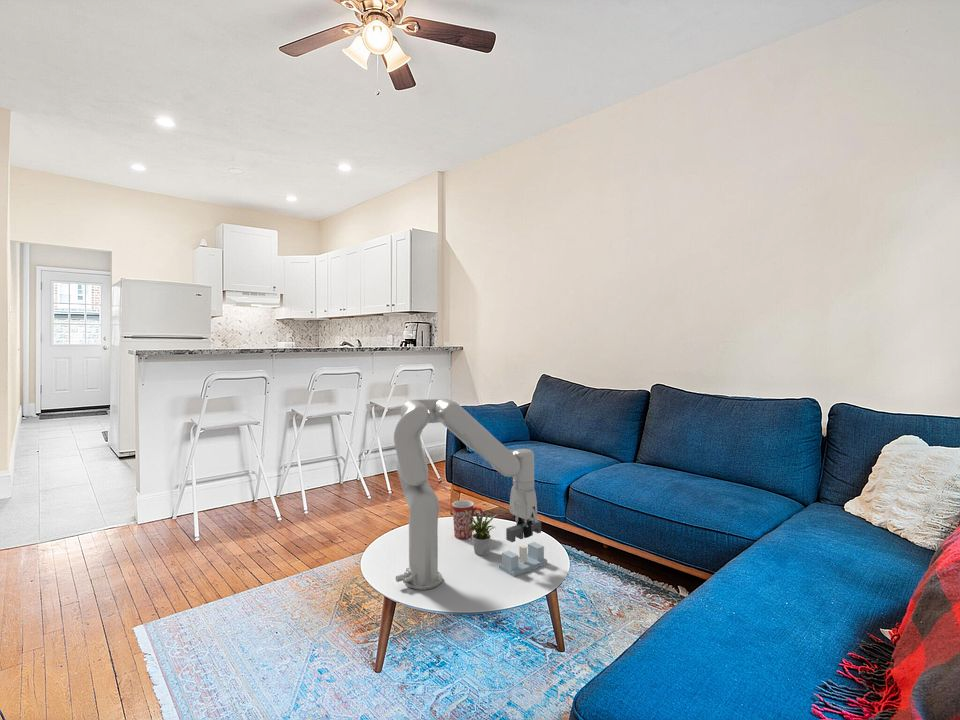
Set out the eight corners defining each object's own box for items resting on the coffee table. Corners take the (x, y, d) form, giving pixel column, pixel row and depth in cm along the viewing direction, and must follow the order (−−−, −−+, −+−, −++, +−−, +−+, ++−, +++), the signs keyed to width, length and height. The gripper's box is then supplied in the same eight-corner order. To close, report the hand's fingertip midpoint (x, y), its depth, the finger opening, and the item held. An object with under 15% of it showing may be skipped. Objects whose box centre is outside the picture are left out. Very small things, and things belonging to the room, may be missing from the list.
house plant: (452, 555, 187) (452, 512, 186) (470, 542, 199) (470, 501, 198) (486, 563, 180) (486, 518, 179) (502, 549, 192) (502, 507, 192)
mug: (450, 540, 201) (450, 507, 200) (453, 531, 210) (453, 499, 209) (482, 540, 200) (482, 507, 200) (483, 531, 209) (483, 500, 209)
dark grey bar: (511, 542, 172) (511, 531, 172) (506, 539, 175) (506, 528, 174) (541, 532, 181) (541, 521, 180) (535, 529, 183) (535, 519, 183)
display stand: (513, 576, 170) (513, 556, 170) (498, 568, 176) (498, 548, 176) (547, 563, 180) (547, 544, 179) (531, 556, 186) (531, 537, 186)
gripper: (500, 481, 181) (501, 531, 182) (531, 492, 168) (532, 545, 169) (516, 477, 186) (516, 526, 186) (547, 487, 173) (547, 540, 173)
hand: (524, 534), depth 178 cm, fingers closed on dark grey bar, 3 cm apart
